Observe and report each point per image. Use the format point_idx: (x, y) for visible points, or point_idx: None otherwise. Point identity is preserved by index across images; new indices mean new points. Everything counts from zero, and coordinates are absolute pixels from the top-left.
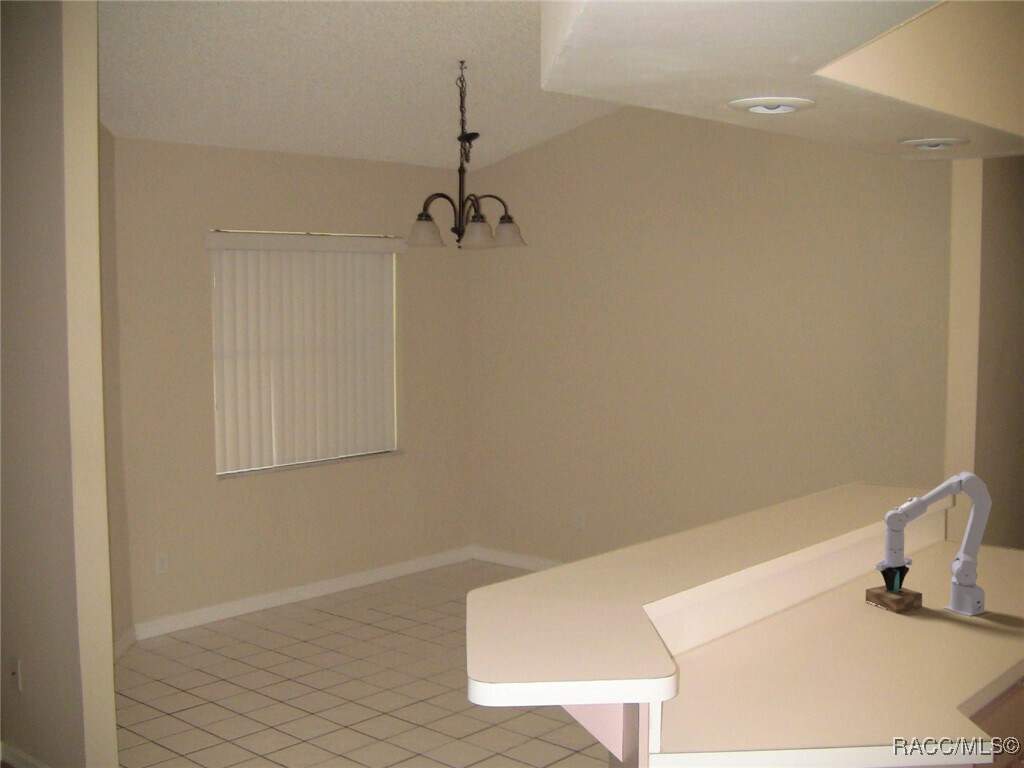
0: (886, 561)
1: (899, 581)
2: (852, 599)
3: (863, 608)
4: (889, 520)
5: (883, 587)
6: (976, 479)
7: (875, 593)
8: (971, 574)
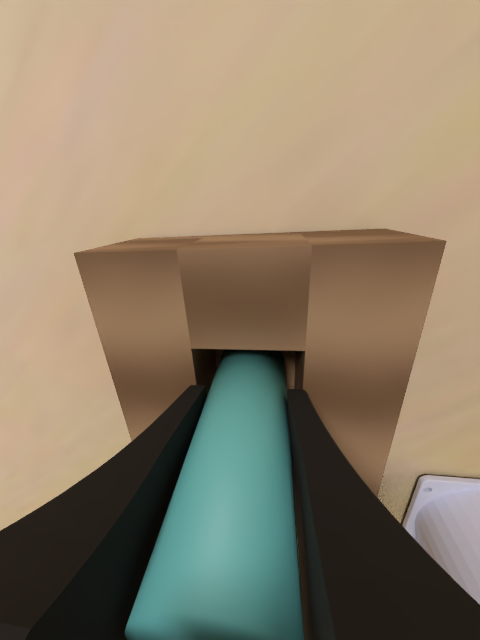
0: None
1: (295, 486)
2: (109, 113)
3: (79, 294)
4: None
5: (260, 289)
6: None
7: (107, 344)
8: None
